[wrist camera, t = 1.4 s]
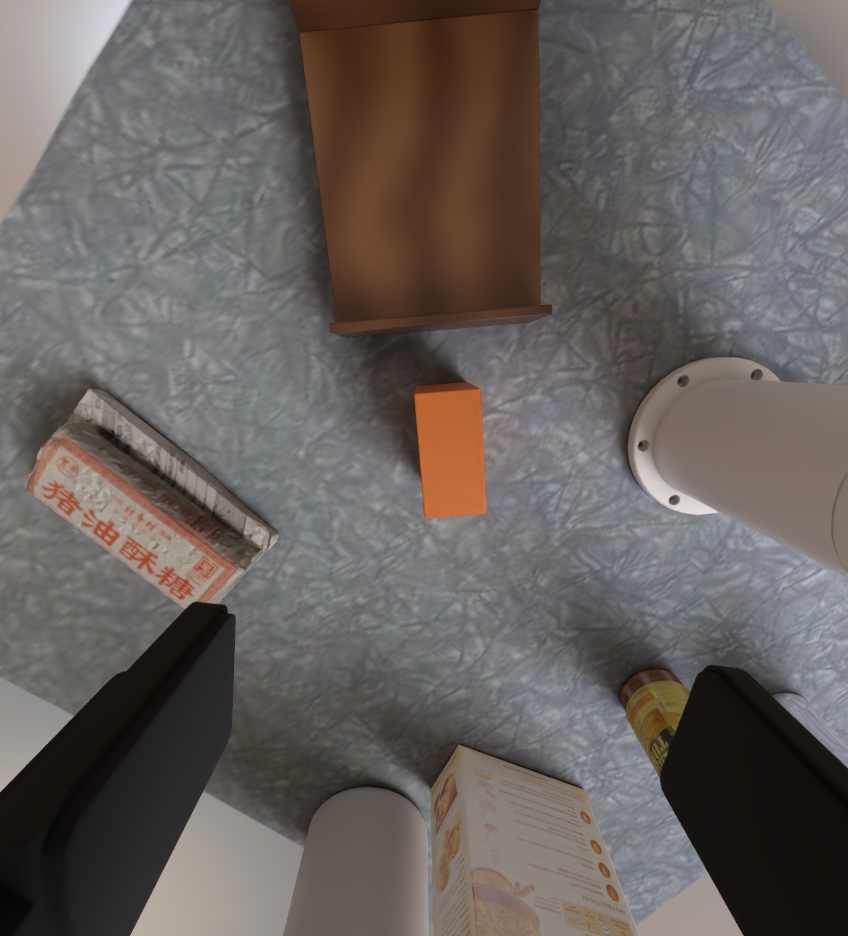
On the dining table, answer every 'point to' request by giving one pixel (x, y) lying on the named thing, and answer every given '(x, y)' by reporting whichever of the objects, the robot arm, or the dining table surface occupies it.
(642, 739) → the sauce bottle
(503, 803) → the coffeecake box
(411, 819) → the cylinder vase
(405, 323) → the shelf
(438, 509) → the block
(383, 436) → the dining table surface
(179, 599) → the packaged product
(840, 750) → the beer glass
